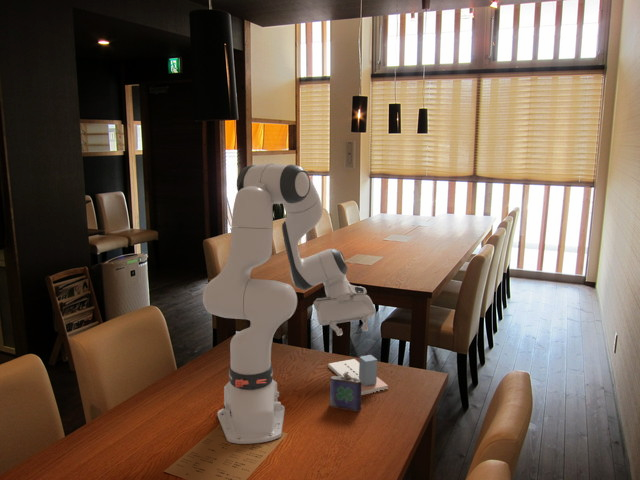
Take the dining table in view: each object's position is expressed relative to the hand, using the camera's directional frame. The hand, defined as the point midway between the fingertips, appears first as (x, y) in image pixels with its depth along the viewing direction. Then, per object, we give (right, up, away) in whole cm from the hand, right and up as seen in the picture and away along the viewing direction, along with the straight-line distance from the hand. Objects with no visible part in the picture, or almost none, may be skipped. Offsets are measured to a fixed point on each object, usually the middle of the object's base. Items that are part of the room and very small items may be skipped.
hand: (353, 332), depth 174 cm
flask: (-3, -19, -19) cm, 27 cm away
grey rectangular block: (+4, -14, -7) cm, 16 cm away
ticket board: (+1, -15, 0) cm, 15 cm away
